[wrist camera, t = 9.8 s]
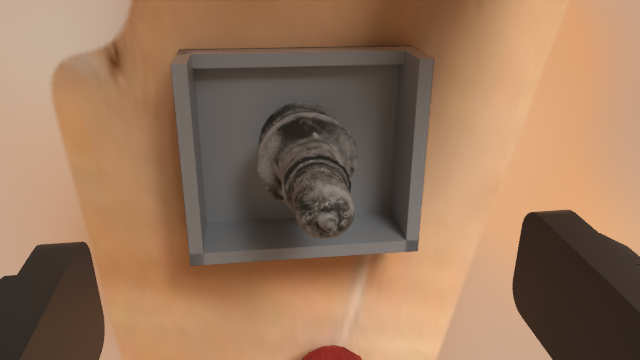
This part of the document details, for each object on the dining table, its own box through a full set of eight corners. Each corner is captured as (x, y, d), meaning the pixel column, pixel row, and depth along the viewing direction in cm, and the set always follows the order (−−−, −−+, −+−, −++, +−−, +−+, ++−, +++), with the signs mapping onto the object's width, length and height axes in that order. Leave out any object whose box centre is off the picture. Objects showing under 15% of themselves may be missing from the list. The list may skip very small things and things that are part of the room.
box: (179, 49, 32) (170, 64, 28) (410, 45, 34) (433, 59, 30) (196, 230, 37) (190, 265, 33) (398, 218, 39) (417, 251, 35)
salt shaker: (308, 201, 37) (339, 307, 26) (235, 151, 35) (236, 244, 24) (364, 133, 35) (423, 214, 24) (293, 77, 33) (321, 139, 22)
